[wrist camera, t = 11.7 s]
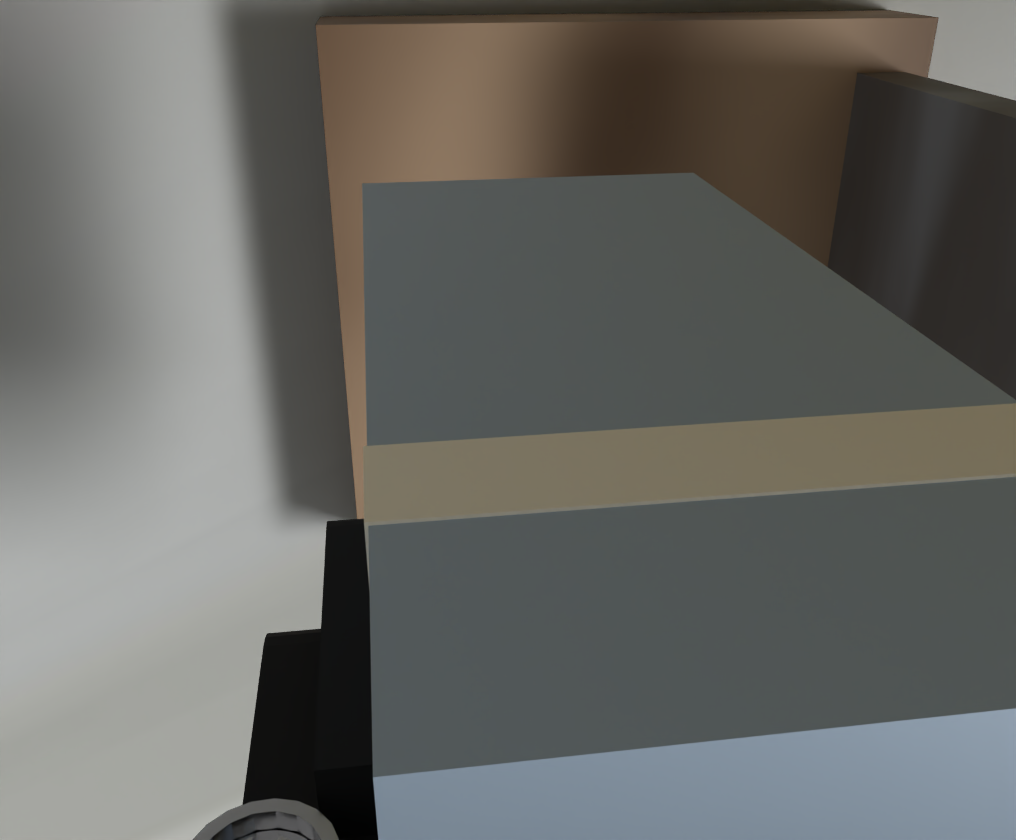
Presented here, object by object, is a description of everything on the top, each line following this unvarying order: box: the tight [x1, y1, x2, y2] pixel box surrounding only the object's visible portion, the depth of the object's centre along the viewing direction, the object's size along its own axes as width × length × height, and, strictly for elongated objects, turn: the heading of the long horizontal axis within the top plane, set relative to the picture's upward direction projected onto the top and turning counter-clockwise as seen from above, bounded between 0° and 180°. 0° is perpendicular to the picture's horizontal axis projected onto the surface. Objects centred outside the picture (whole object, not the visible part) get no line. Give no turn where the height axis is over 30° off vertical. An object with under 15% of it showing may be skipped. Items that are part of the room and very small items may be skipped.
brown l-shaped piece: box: [316, 10, 1016, 519], centre depth 19 cm, size 12×12×9 cm
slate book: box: [362, 173, 1016, 840], centre depth 10 cm, size 4×10×9 cm, turn 0°
